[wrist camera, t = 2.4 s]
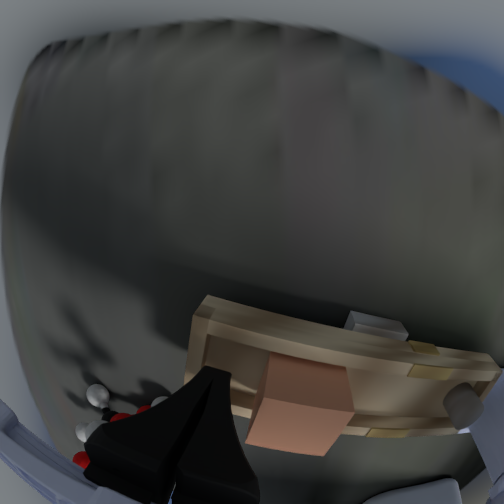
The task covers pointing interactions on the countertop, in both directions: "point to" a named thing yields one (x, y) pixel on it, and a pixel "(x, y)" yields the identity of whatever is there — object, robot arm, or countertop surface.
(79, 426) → the molecular model
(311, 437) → the pink cube
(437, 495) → the plastic bottle
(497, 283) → the countertop surface
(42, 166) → the countertop surface
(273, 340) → the wooden tray
